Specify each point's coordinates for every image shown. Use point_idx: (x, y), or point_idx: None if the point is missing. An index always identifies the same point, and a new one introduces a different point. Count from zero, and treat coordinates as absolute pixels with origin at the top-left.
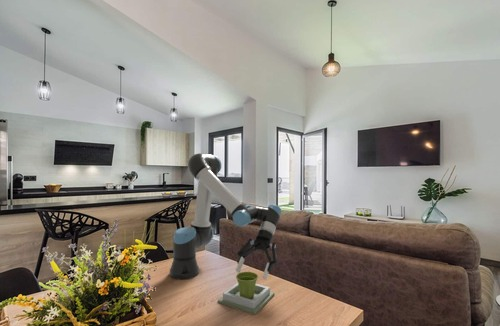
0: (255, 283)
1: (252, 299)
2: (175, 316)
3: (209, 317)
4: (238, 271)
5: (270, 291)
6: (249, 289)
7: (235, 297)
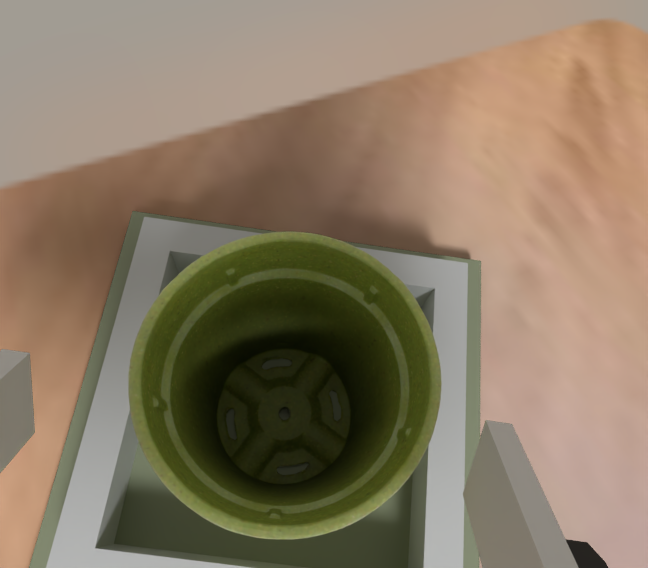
0: (174, 397)
1: None
2: (594, 61)
3: (415, 106)
4: (474, 467)
5: None
6: (228, 325)
7: None
